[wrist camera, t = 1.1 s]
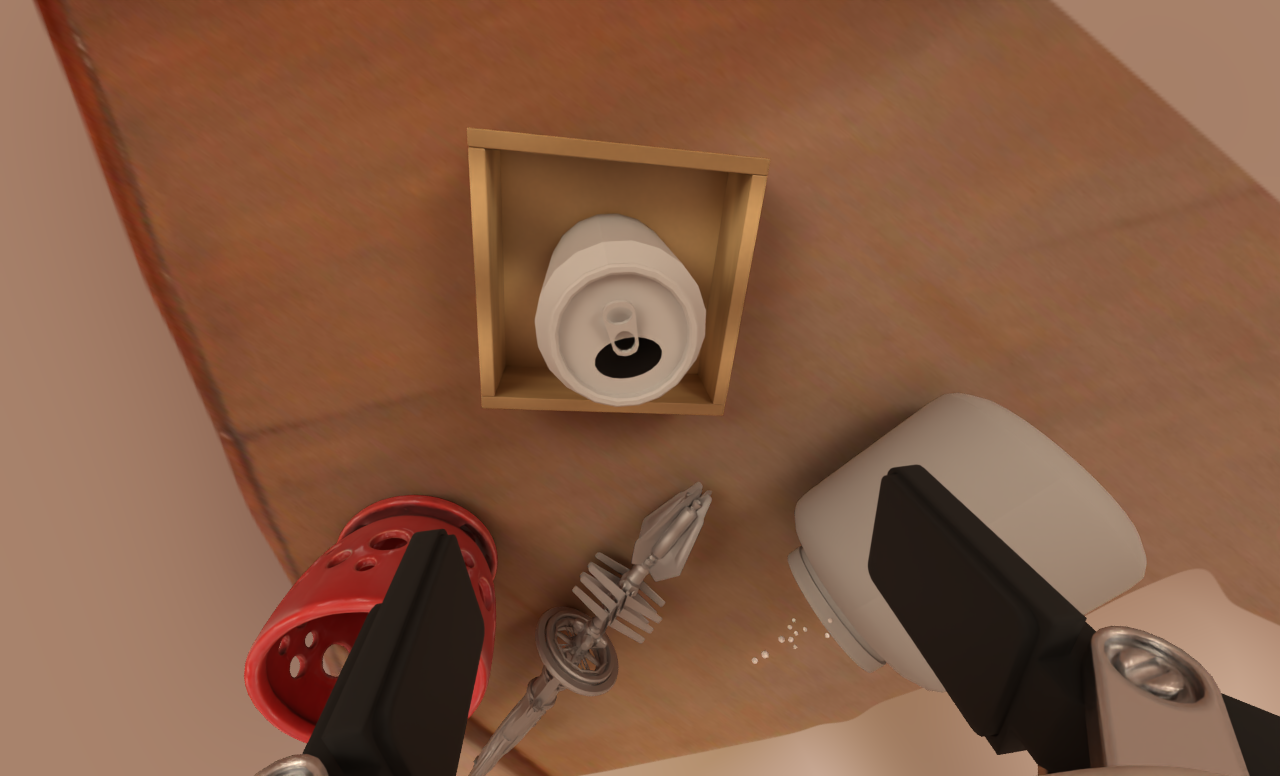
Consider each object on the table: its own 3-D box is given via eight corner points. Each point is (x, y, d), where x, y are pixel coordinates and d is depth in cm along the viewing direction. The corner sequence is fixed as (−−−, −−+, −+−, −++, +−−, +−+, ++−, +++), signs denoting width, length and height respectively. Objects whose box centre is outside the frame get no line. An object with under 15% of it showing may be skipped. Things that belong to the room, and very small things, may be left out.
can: (566, 342, 32) (558, 438, 21) (534, 225, 29) (506, 270, 18) (678, 318, 32) (724, 402, 22) (659, 199, 29) (703, 228, 18)
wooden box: (485, 131, 27) (466, 127, 22) (741, 157, 29) (771, 158, 24) (495, 373, 33) (481, 408, 29) (705, 382, 35) (723, 416, 31)
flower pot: (515, 597, 42) (492, 750, 31) (353, 602, 41) (270, 765, 30) (510, 472, 37) (479, 606, 26) (321, 472, 35) (205, 614, 24)
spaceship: (405, 799, 40) (482, 861, 40) (656, 474, 33) (752, 546, 32) (456, 720, 48) (520, 771, 47) (667, 444, 41) (745, 502, 40)
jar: (1064, 556, 40) (812, 729, 41) (925, 416, 46) (709, 569, 47) (1278, 555, 23) (833, 855, 23) (1011, 332, 29) (665, 577, 30)
